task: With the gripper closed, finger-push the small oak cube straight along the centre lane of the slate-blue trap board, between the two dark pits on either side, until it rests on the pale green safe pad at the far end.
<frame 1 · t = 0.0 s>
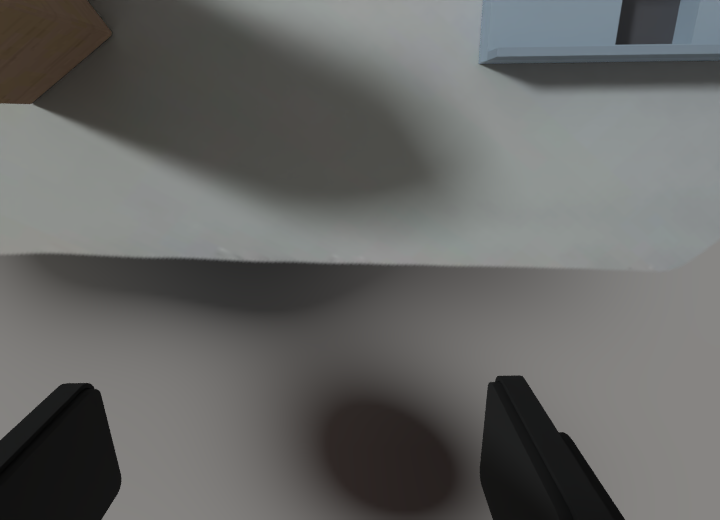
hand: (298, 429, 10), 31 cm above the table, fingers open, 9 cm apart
decorative block: (29, 16, 35), on the table
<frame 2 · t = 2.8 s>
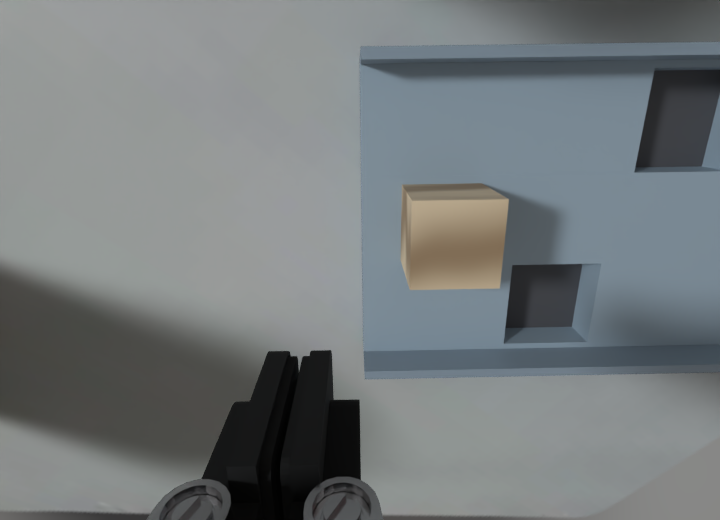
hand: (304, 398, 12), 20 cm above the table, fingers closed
oak block: (439, 222, 28), point 2 cm above the table, touching trap board
trap board: (589, 211, 30), on the table
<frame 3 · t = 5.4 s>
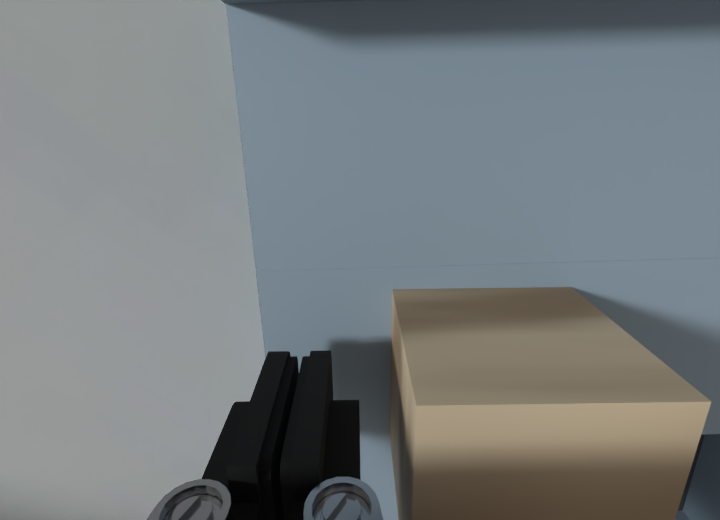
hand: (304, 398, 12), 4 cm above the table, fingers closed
oak block: (474, 365, 13), point 3 cm above the table, touching gripper
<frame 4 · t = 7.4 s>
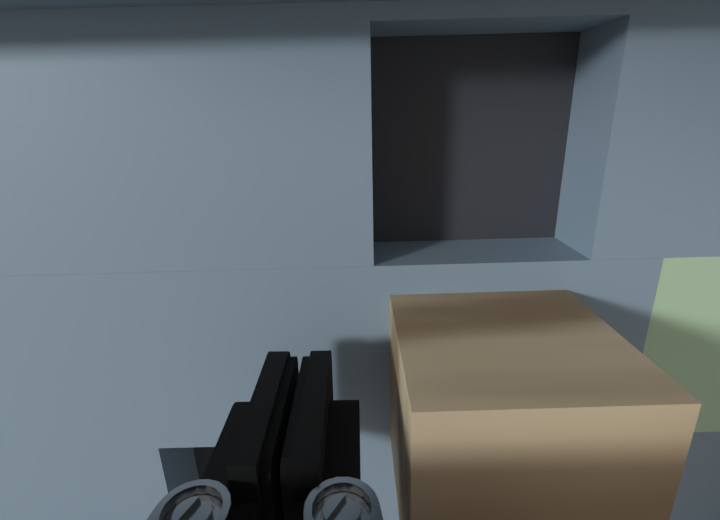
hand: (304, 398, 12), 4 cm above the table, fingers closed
oak block: (473, 368, 13), point 2 cm above the table, touching gripper, trap board
trap board: (343, 322, 15), on the table
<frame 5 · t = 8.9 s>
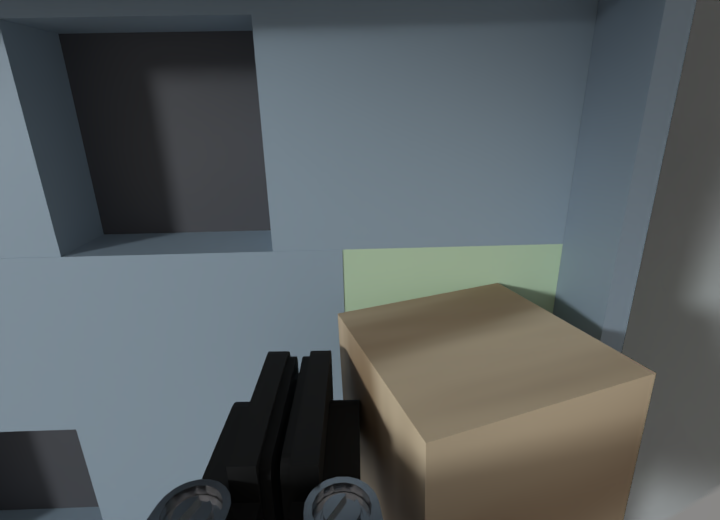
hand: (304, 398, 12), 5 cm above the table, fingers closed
oak block: (421, 373, 13), point 3 cm above the table, tilted 18°, touching gripper
trap board: (96, 313, 16), on the table
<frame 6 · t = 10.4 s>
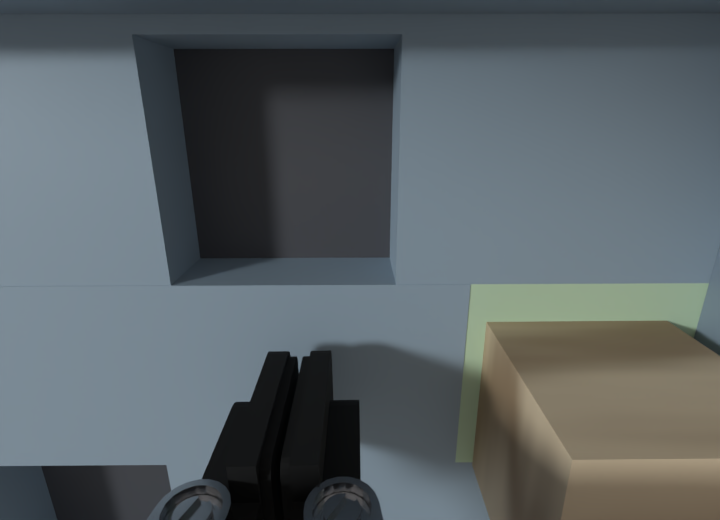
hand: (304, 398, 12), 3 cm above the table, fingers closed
oak block: (563, 397, 13), point 2 cm above the table, touching trap board
trap board: (183, 339, 15), on the table
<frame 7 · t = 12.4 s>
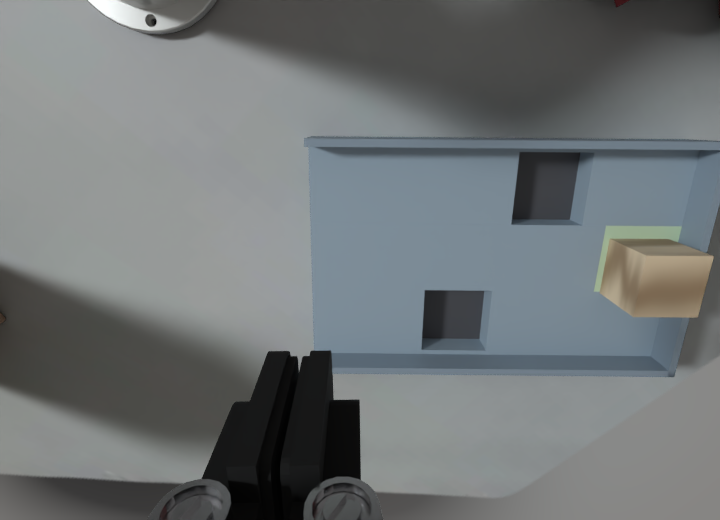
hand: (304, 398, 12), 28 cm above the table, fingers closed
oak block: (633, 266, 37), point 2 cm above the table, touching trap board
trap board: (487, 250, 40), on the table
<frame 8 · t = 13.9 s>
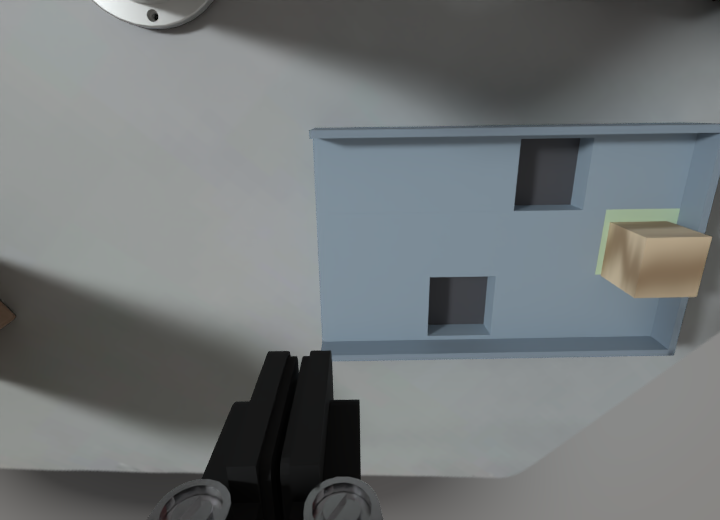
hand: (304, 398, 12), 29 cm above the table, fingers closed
oak block: (633, 248, 38), point 2 cm above the table, touching trap board
trap board: (490, 236, 40), on the table
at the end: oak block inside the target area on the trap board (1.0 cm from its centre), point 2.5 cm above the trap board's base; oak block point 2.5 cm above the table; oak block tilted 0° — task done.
